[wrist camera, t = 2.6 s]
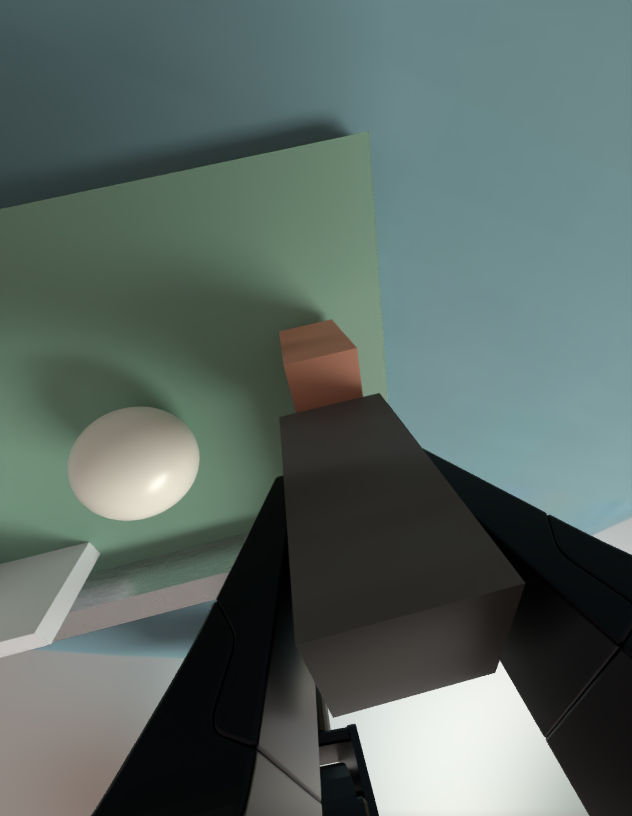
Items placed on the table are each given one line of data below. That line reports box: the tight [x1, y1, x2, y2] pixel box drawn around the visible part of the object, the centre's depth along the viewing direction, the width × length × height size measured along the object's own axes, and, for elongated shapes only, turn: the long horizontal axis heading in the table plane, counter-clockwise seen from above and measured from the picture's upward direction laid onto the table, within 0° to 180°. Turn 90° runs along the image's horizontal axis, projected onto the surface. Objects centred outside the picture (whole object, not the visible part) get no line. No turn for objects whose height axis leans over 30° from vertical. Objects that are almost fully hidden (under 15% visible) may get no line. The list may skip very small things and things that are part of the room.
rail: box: [53, 533, 248, 642], centre depth 16 cm, size 2×21×2 cm, turn 102°
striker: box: [279, 319, 526, 718], centre depth 10 cm, size 13×3×9 cm, turn 13°
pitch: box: [0, 131, 388, 573], centre depth 13 cm, size 18×22×1 cm
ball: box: [67, 406, 200, 521], centre depth 10 cm, size 4×4×4 cm
